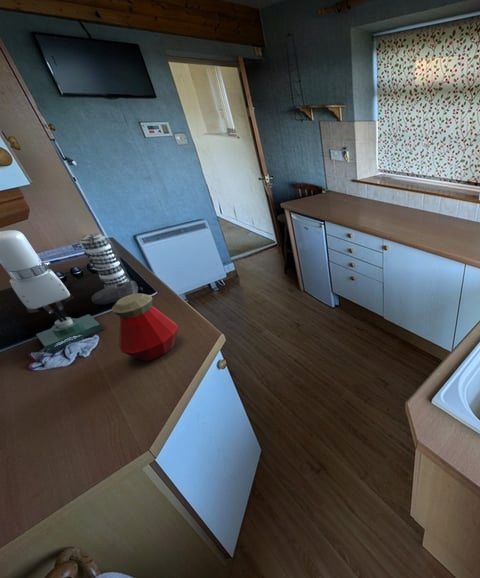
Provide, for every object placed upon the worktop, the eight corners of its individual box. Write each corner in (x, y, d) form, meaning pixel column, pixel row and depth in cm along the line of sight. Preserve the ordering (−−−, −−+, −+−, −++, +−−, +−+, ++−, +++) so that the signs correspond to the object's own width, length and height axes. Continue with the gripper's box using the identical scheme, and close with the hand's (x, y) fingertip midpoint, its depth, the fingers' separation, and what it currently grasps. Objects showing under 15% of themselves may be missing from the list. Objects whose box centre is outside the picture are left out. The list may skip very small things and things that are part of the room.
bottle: (169, 330, 103) (145, 281, 93) (193, 341, 98) (171, 290, 88) (118, 359, 91) (84, 306, 81) (143, 373, 86) (110, 318, 76)
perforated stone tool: (95, 309, 115) (86, 294, 111) (96, 304, 118) (87, 289, 115) (141, 297, 123) (134, 282, 119) (141, 292, 126) (134, 278, 123)
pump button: (59, 330, 97) (56, 325, 96) (56, 326, 99) (52, 321, 98) (75, 324, 100) (72, 319, 99) (71, 320, 102) (68, 315, 101)
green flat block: (49, 352, 94) (40, 341, 92) (40, 339, 99) (32, 329, 97) (103, 329, 104) (96, 319, 102) (92, 319, 109) (86, 309, 107)
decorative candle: (117, 296, 123) (86, 240, 111) (101, 293, 126) (69, 238, 113) (138, 286, 131) (111, 232, 118) (123, 283, 133) (95, 230, 120)
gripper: (57, 259, 96) (87, 306, 106) (-11, 278, 86) (28, 327, 95) (64, 265, 93) (94, 312, 102) (-7, 285, 82) (34, 335, 91)
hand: (62, 319), depth 98 cm, fingers closed
